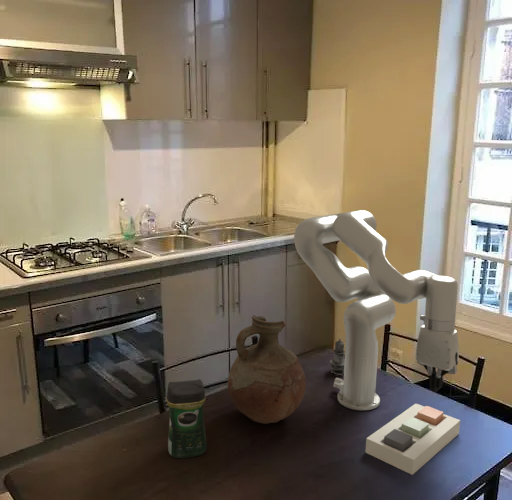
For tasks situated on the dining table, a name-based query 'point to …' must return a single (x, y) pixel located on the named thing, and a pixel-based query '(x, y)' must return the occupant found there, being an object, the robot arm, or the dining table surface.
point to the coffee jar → (186, 418)
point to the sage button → (415, 427)
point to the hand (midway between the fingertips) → (435, 389)
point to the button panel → (420, 448)
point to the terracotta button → (430, 415)
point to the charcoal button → (398, 440)
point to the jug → (265, 375)
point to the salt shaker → (338, 358)
